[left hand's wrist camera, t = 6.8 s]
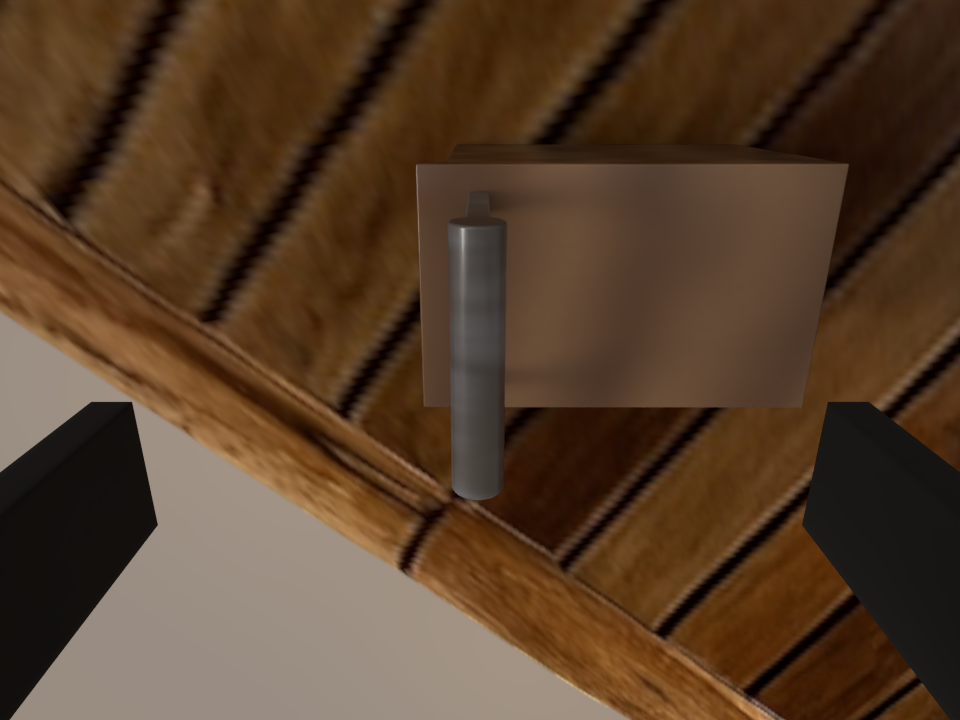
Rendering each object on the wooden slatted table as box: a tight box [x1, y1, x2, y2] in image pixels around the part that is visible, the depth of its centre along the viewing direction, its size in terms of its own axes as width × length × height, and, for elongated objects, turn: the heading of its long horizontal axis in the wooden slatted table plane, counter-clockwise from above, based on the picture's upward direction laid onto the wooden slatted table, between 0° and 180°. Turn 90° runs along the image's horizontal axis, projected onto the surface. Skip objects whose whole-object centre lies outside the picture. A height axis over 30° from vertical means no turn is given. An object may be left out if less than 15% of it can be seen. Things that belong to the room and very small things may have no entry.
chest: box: [447, 145, 834, 162], centre depth 30 cm, size 14×9×10 cm, turn 90°
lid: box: [416, 162, 849, 500], centre depth 21 cm, size 15×9×9 cm, turn 90°
